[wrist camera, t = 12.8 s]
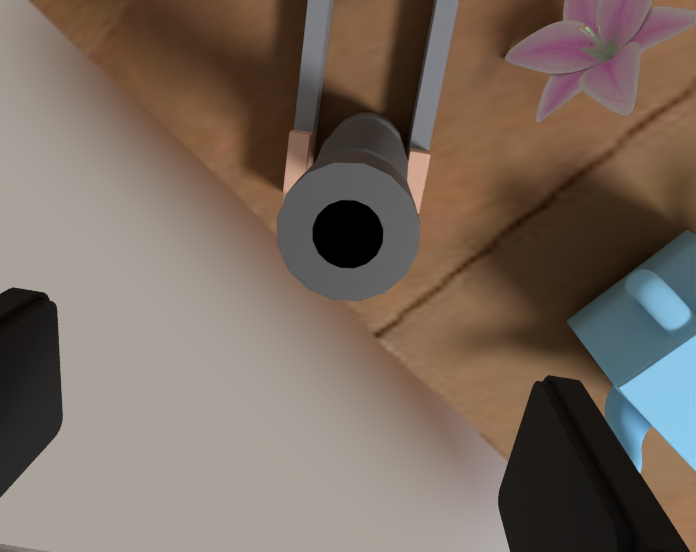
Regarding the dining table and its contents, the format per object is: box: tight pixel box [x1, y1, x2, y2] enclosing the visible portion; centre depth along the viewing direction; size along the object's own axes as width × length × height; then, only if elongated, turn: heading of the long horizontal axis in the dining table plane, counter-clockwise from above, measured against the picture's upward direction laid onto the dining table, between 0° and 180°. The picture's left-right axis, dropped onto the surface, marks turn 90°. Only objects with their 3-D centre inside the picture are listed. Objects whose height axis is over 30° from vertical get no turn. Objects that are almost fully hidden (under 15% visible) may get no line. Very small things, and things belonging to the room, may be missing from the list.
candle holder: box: [277, 112, 420, 301], centre depth 33 cm, size 6×6×25 cm
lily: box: [505, 0, 696, 122], centre depth 37 cm, size 12×12×10 cm
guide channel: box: [282, 0, 459, 215], centre depth 40 cm, size 18×10×5 cm, turn 171°
